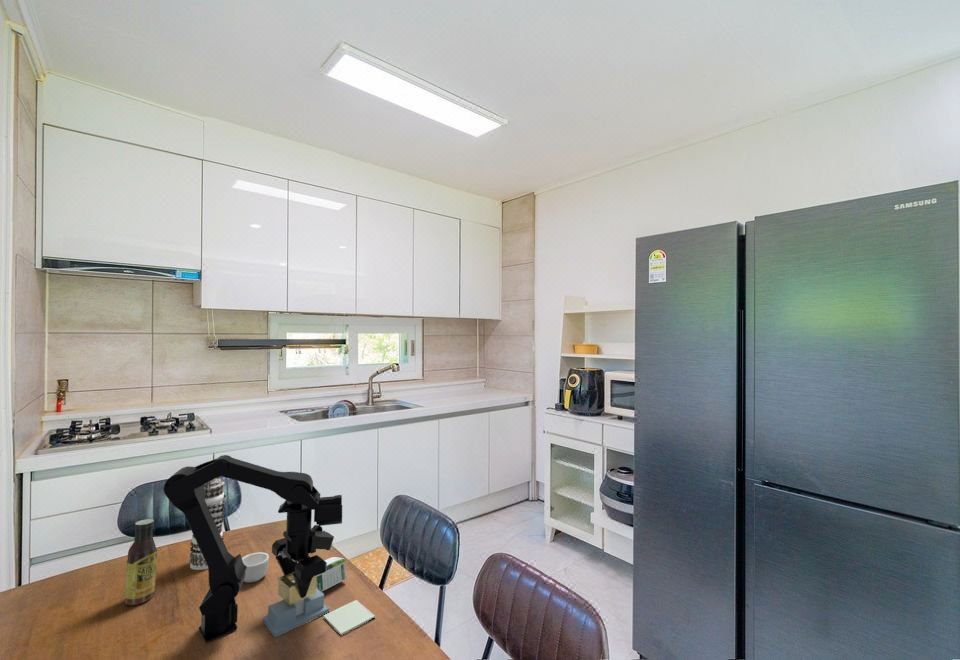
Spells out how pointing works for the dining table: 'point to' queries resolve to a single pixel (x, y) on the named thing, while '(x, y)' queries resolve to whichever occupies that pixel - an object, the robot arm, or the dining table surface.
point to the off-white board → (348, 617)
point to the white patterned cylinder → (216, 507)
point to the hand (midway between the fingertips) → (297, 591)
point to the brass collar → (293, 588)
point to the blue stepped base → (294, 613)
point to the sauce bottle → (141, 565)
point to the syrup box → (331, 574)
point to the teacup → (255, 566)
